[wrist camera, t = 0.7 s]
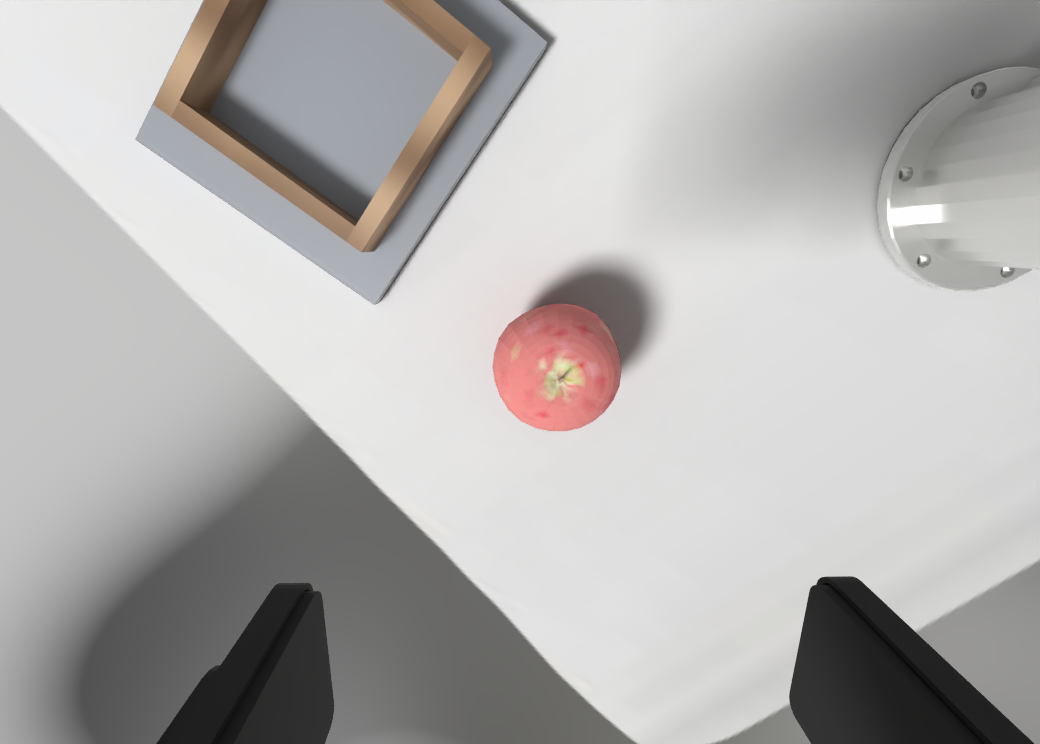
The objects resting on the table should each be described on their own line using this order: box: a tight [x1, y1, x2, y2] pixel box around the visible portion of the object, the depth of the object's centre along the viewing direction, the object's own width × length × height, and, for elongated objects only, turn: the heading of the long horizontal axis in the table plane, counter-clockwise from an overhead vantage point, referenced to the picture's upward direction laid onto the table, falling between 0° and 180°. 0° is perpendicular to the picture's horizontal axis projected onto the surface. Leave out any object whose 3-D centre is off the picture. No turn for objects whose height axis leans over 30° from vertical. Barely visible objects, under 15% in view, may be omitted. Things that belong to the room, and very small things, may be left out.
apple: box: [493, 304, 621, 431], centre depth 28 cm, size 7×7×8 cm
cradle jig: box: [135, 0, 547, 305], centre depth 26 cm, size 18×16×4 cm
